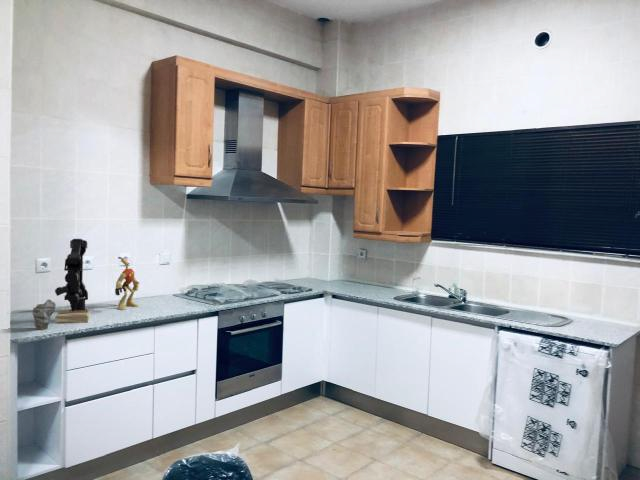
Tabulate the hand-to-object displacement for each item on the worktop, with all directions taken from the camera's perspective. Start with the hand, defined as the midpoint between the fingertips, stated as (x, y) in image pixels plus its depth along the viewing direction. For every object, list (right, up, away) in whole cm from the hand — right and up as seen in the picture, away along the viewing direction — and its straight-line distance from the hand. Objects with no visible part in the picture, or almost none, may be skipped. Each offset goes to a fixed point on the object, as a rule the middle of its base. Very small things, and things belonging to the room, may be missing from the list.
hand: (73, 310), depth 276 cm
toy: (+14, -3, +35) cm, 38 cm away
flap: (-1, -1, +2) cm, 2 cm away
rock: (-6, -6, -19) cm, 20 cm away
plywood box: (0, -5, -1) cm, 5 cm away
